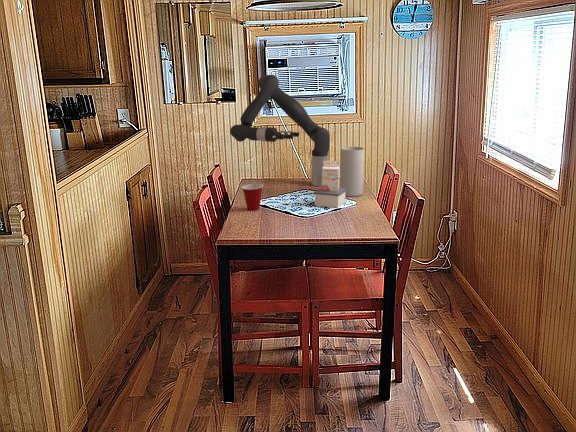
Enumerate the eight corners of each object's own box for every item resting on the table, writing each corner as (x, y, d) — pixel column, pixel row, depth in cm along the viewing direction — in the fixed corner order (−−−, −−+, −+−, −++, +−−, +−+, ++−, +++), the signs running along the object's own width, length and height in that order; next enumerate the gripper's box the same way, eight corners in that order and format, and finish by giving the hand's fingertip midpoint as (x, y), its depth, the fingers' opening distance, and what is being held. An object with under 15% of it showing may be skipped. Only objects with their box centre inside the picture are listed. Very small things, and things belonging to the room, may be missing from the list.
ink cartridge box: (321, 191, 297) (321, 162, 293) (322, 189, 302) (322, 160, 298) (338, 191, 296) (339, 162, 292) (339, 189, 301) (339, 160, 297)
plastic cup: (242, 206, 296) (241, 183, 293) (263, 206, 296) (263, 182, 293) (241, 212, 285) (240, 188, 282) (263, 211, 286) (263, 187, 283)
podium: (322, 199, 309) (322, 186, 307) (346, 202, 304) (346, 188, 302) (313, 205, 297) (313, 192, 295) (338, 208, 292) (338, 194, 290)
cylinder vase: (335, 194, 320) (335, 148, 313) (348, 190, 329) (350, 145, 322) (353, 198, 312) (355, 151, 305) (367, 194, 321) (369, 148, 314)
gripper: (261, 128, 302) (290, 130, 297) (272, 125, 315) (300, 126, 309) (261, 143, 304) (290, 145, 299) (272, 139, 317) (300, 141, 311)
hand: (295, 135), depth 304 cm, fingers open, 8 cm apart
